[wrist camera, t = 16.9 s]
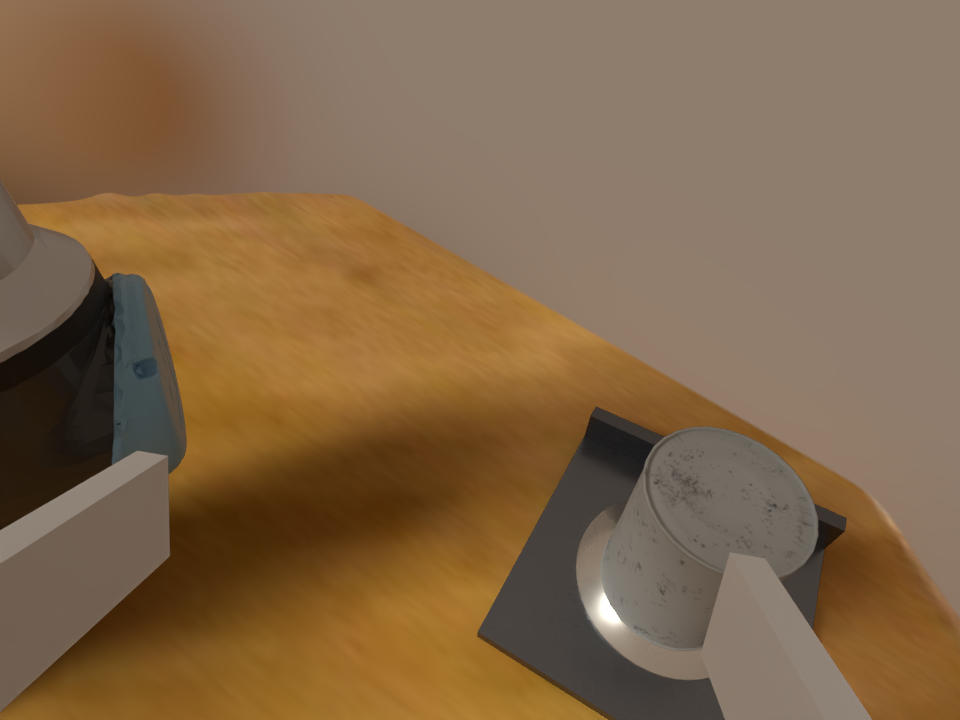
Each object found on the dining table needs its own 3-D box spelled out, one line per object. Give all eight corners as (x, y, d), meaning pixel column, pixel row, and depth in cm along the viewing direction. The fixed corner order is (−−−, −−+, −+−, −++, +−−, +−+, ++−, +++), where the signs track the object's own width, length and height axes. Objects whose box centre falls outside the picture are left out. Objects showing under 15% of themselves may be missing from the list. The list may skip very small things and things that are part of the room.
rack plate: (477, 636, 38) (479, 616, 35) (587, 433, 50) (595, 406, 47) (776, 825, 32) (809, 821, 29) (820, 541, 44) (846, 518, 41)
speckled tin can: (660, 497, 45) (713, 402, 36) (761, 596, 39) (853, 515, 30) (572, 563, 40) (607, 475, 32) (672, 683, 35) (748, 619, 26)
